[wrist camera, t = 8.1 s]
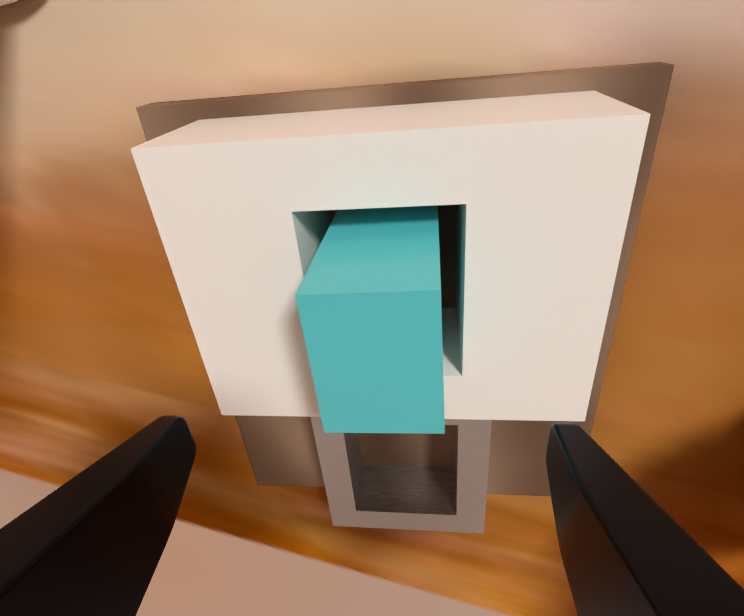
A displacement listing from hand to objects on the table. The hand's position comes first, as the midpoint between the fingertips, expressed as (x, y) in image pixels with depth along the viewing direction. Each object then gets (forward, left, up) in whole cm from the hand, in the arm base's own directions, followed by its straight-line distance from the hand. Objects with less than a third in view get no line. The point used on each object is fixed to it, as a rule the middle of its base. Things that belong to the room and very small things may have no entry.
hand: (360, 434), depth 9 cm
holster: (0, +9, -9) cm, 13 cm away
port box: (0, 0, -9) cm, 9 cm away
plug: (0, 0, -9) cm, 9 cm away
